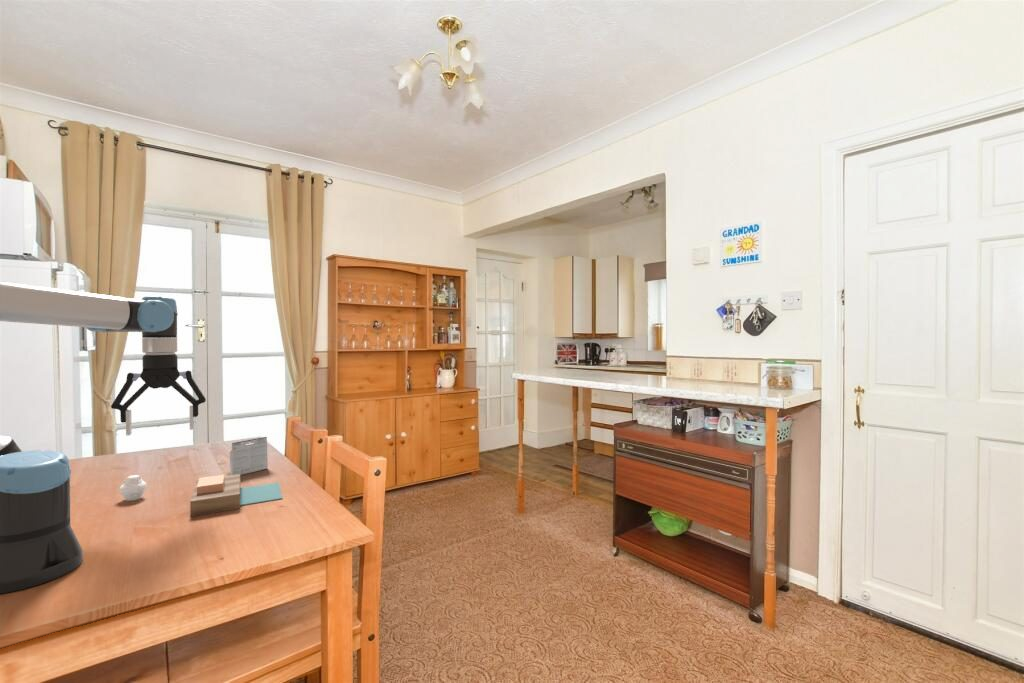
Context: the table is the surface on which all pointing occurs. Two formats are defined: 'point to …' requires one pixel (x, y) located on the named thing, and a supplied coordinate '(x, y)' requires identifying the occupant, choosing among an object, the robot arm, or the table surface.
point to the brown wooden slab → (217, 498)
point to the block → (210, 484)
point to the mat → (260, 493)
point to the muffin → (133, 488)
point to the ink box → (248, 456)
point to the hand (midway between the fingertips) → (161, 431)
